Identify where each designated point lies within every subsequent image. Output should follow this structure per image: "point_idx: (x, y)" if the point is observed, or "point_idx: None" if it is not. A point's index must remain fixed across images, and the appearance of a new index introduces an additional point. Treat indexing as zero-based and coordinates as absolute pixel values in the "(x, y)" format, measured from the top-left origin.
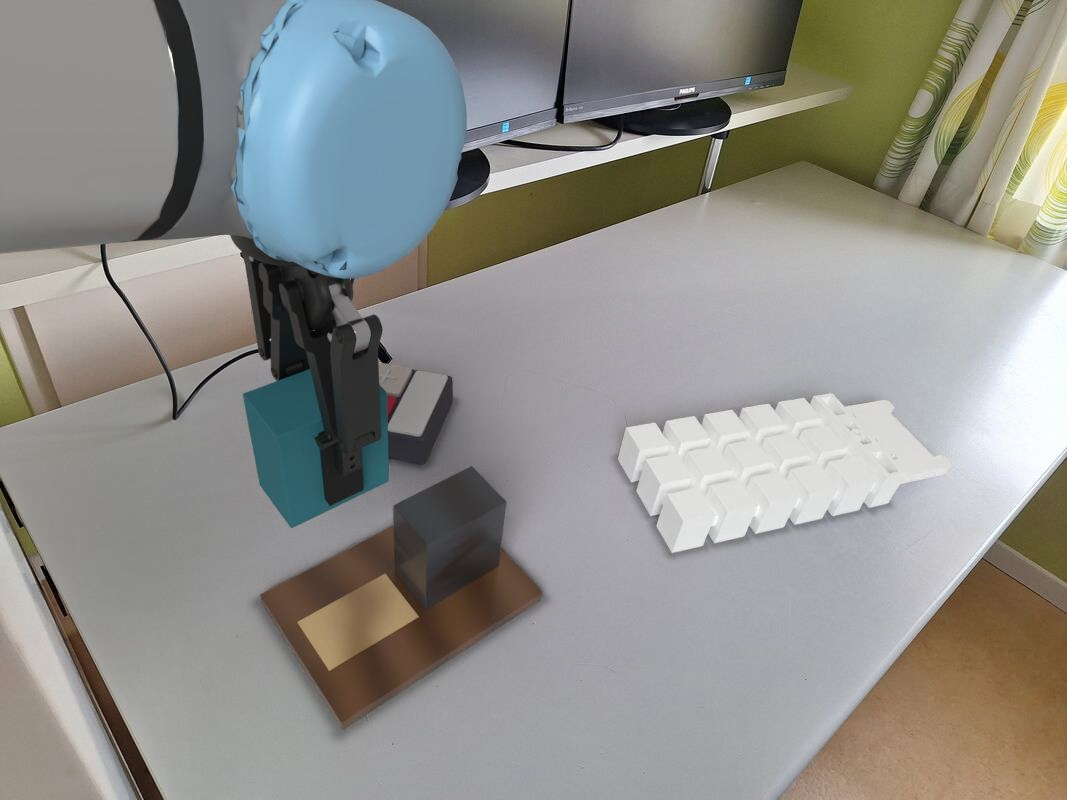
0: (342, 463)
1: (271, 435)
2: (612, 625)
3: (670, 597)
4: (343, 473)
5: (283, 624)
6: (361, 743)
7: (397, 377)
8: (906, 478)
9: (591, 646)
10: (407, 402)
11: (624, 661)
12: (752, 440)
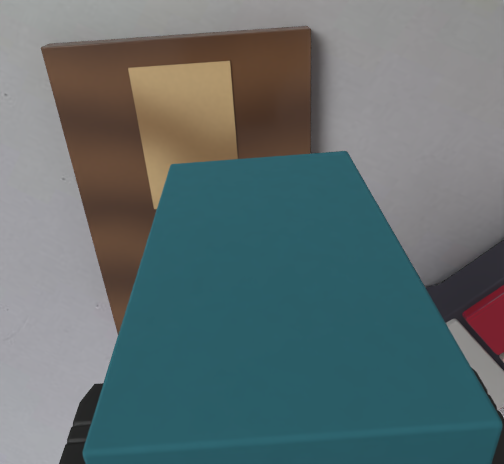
0: (74, 439)
1: (162, 409)
2: (58, 365)
3: (66, 420)
4: (81, 403)
5: (237, 40)
6: (20, 58)
7: None
8: None
9: (42, 337)
10: (478, 362)
11: (12, 353)
12: None
